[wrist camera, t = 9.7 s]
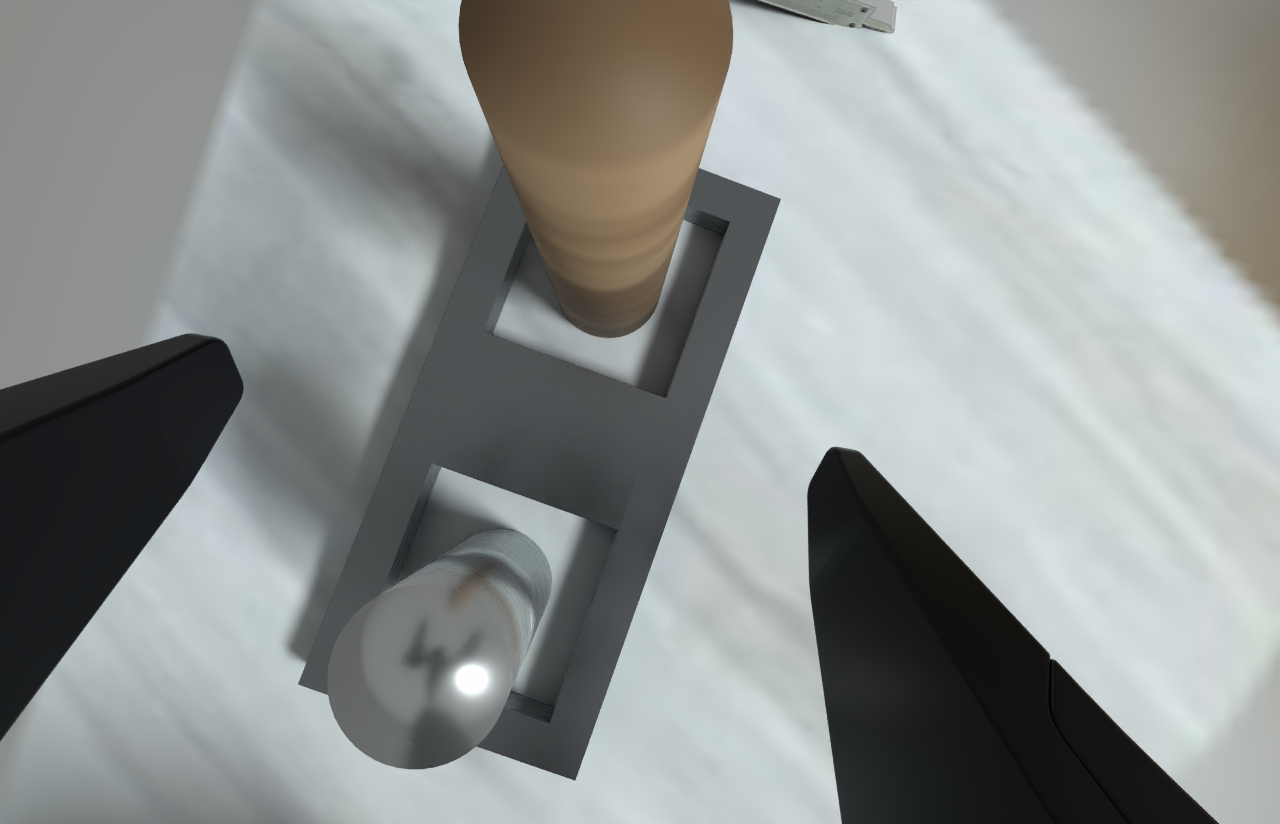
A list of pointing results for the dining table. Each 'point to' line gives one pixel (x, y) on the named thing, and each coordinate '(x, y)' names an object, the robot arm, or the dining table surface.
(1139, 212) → the dining table surface
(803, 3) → the caliper
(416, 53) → the dining table surface
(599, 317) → the walnut pin
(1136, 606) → the dining table surface
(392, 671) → the steel pin
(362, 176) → the dining table surface
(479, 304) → the plate
